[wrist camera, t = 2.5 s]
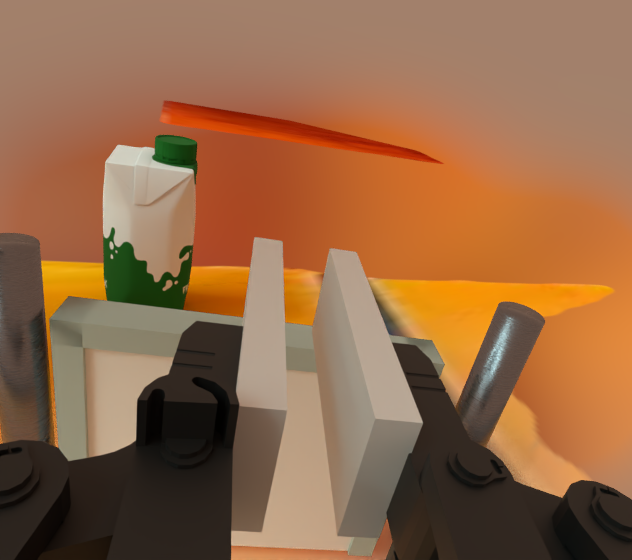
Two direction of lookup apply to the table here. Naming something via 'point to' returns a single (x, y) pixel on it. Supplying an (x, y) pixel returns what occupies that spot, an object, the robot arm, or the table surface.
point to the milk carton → (149, 222)
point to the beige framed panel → (155, 361)
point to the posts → (33, 365)
